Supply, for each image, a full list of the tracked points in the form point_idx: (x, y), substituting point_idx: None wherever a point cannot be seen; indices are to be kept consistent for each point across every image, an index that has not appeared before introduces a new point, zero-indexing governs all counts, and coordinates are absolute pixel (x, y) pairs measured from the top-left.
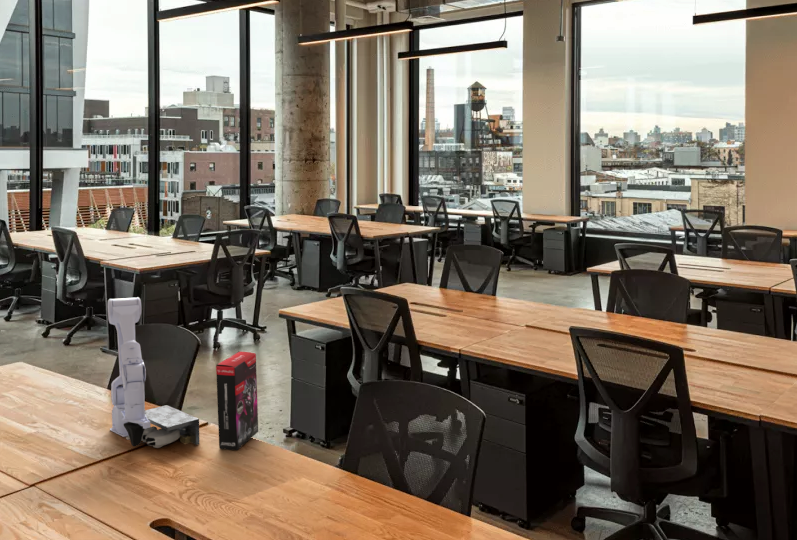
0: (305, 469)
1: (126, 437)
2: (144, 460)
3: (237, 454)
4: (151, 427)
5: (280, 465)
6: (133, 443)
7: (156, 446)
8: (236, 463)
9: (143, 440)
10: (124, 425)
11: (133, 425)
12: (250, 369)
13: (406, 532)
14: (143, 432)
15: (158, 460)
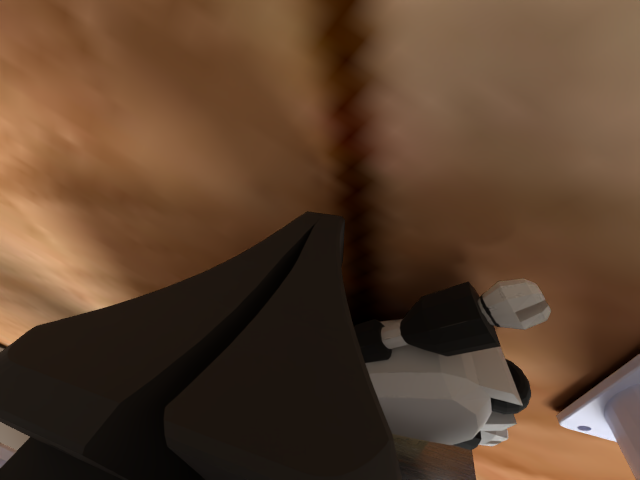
0: (4, 328)
1: (530, 294)
2: (119, 136)
3: None
4: (416, 437)
5: (24, 327)
6: (291, 223)
7: None
8: (40, 303)
9: (400, 321)
10: (289, 451)
11: (47, 443)
12: None
13: None
14: (399, 380)
15: (102, 191)
